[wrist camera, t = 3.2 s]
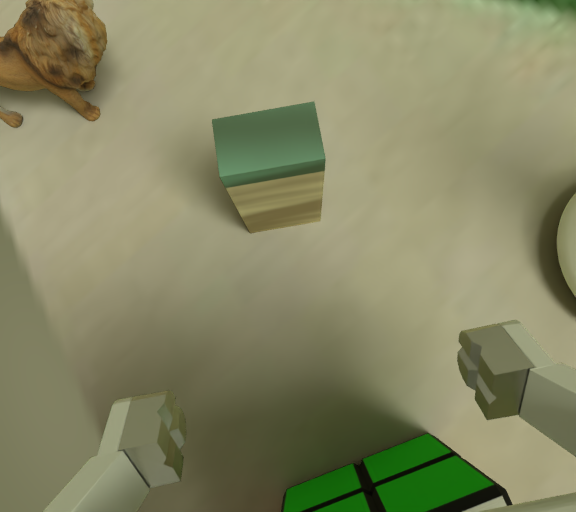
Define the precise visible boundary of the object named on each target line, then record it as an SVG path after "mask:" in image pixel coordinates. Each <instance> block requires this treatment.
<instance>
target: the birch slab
mask: <svg viewBox="0 0 576 512" xmlns="http://www.w3.org/2000/svg"><path fill="white" fill-rule="evenodd" d="M212 124H213V132H214V139H215V147H216V154H217V161H218V169H219V176H220V179H221V181H222V182H223V184H224V186H225V188H226V190H227V192H228V193H229V195H230V197H231V199H232V201H233V203H234V204H235V206H236V208H237V210H238V212H239V214H240V215H241V217H242V219H243V221H244V223H245V225H246V226H247V228H248V230H249V232H250V233H255V232H260V231H266V230H272V229H278V228H284V227H290V226H295V225H301V224H307V223H313V222H319V221H320V219H321V207H322V195H323V183H324V171H325V154H324V148H323V143H322V138H321V133H320V128H319V123H318V118H317V113H316V108H315V103H314V102H309V103H303V104H297V105H292V106H286V107H280V108H275V109H269V110H264V111H258V112H252V113H247V114H241V115H235V116H230V117H224V118H218V119H213V120H212Z"/></svg>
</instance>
